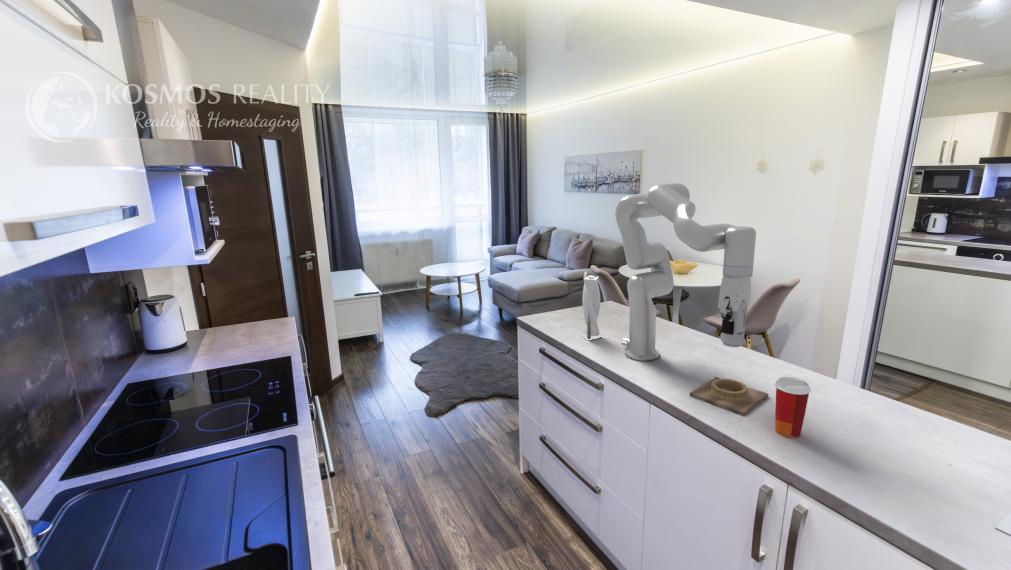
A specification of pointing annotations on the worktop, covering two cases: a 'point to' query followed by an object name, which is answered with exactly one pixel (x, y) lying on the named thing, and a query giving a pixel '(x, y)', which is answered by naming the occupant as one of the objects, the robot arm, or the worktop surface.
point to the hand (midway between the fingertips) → (733, 330)
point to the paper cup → (790, 405)
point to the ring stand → (729, 395)
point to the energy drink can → (736, 327)
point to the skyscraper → (591, 305)
